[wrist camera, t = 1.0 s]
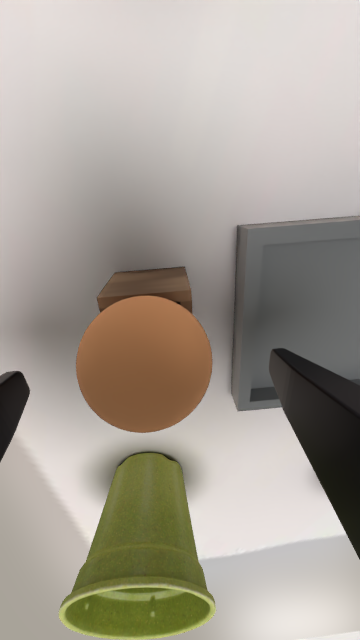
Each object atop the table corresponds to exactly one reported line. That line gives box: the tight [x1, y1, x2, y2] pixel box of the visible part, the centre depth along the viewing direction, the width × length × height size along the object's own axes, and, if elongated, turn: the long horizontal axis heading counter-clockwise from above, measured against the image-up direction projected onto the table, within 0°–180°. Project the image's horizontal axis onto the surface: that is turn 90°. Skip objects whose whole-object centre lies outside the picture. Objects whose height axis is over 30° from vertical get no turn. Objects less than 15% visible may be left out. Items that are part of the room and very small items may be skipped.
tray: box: [231, 216, 360, 411], centre depth 15 cm, size 15×12×2 cm
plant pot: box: [59, 453, 216, 640], centre depth 18 cm, size 9×9×9 cm
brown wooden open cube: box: [97, 267, 192, 314], centre depth 13 cm, size 4×4×4 cm
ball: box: [76, 296, 212, 433], centre depth 9 cm, size 5×5×5 cm
